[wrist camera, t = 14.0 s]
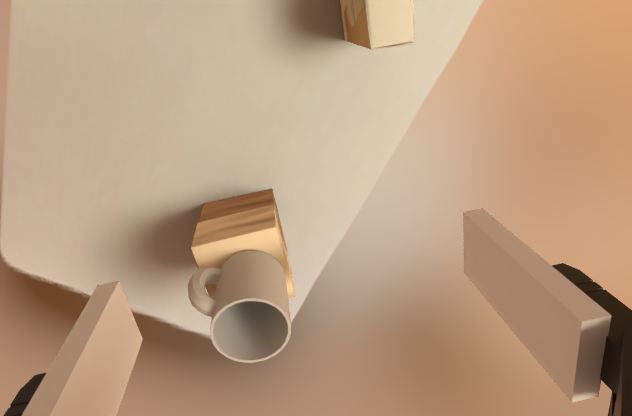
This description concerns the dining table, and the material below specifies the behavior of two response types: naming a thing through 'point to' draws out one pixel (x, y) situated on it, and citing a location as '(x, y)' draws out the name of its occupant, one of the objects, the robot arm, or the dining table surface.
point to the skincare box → (378, 22)
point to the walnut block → (239, 206)
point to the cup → (245, 306)
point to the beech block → (240, 241)
